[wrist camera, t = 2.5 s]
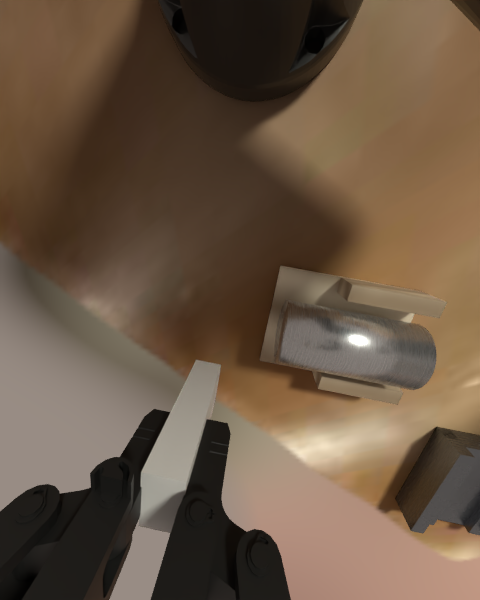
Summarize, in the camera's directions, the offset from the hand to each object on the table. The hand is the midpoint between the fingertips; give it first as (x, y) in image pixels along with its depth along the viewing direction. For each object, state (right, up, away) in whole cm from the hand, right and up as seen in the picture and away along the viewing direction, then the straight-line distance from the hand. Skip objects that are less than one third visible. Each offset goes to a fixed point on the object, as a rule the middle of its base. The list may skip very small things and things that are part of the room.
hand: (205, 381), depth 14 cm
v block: (+30, -17, +16) cm, 38 cm away
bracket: (+12, +2, +11) cm, 16 cm away
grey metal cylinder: (+12, +2, +11) cm, 16 cm away
